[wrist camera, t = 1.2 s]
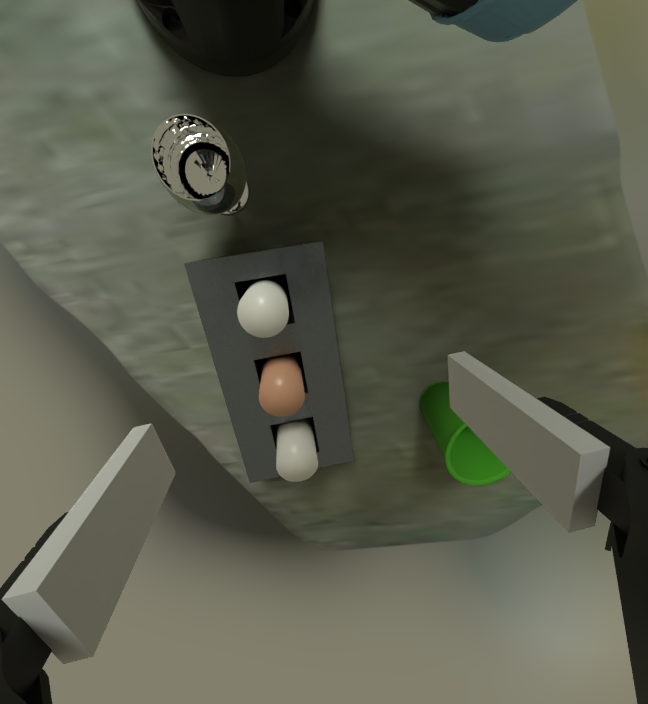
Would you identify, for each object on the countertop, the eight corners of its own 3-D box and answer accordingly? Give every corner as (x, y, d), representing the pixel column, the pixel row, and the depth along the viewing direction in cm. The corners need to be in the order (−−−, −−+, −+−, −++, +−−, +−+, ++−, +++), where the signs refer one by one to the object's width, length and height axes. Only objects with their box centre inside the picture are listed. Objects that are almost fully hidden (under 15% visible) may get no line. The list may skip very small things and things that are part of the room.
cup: (408, 434, 43) (449, 496, 33) (400, 376, 40) (442, 424, 29) (470, 418, 43) (529, 473, 33) (467, 359, 40) (531, 400, 30)
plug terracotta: (259, 352, 33) (253, 380, 26) (296, 345, 33) (300, 371, 26) (267, 386, 34) (264, 420, 28) (303, 379, 34) (308, 411, 28)
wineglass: (182, 193, 30) (122, 165, 19) (215, 140, 29) (173, 76, 17) (233, 234, 32) (207, 230, 20) (267, 185, 30) (258, 152, 19)
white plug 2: (273, 413, 35) (272, 452, 29) (308, 406, 36) (314, 443, 29) (280, 442, 37) (280, 485, 30) (314, 435, 37) (320, 477, 31)
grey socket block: (201, 259, 32) (184, 263, 26) (315, 241, 33) (322, 241, 27) (254, 449, 40) (249, 482, 35) (344, 430, 41) (354, 460, 36)
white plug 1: (242, 281, 30) (231, 292, 24) (283, 274, 30) (283, 283, 24) (251, 320, 32) (244, 341, 25) (290, 314, 32) (293, 332, 25)
